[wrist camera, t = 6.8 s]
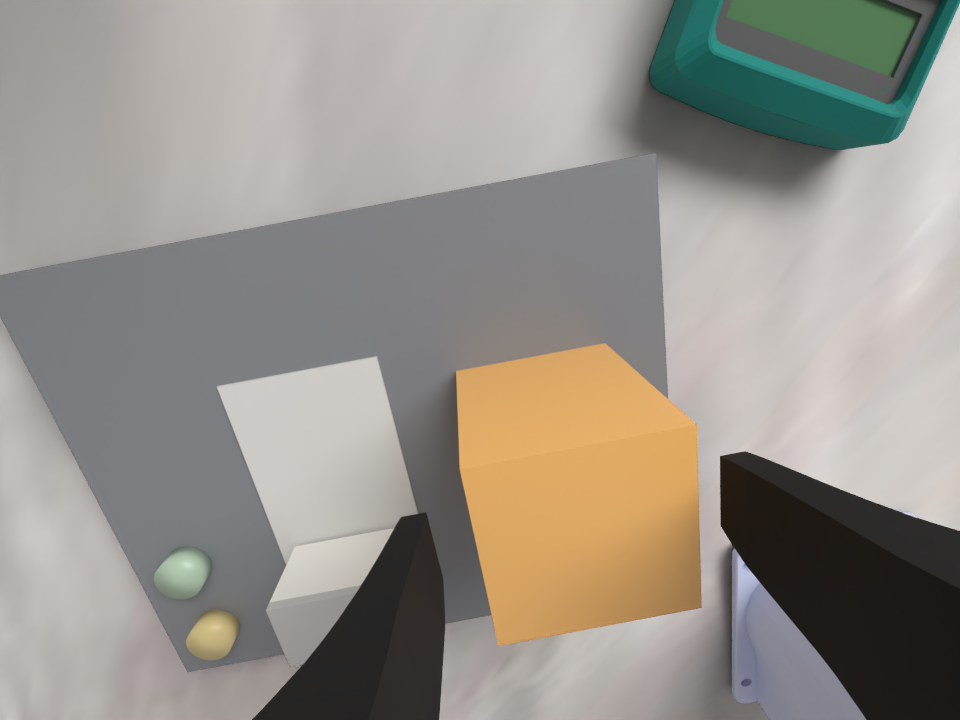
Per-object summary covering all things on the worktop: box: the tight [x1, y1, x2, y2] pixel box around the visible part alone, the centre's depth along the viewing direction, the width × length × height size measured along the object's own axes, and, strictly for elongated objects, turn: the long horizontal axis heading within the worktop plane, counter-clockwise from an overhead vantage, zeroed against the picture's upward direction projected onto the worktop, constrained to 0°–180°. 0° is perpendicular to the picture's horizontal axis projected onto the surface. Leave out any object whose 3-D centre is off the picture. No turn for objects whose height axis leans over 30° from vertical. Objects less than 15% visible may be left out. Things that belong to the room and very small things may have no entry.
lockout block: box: [456, 343, 702, 646], centre depth 13 cm, size 5×5×6 cm
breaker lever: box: [266, 528, 394, 667], centre depth 16 cm, size 2×4×3 cm, turn 100°
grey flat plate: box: [0, 153, 668, 672], centre depth 16 cm, size 16×20×2 cm
